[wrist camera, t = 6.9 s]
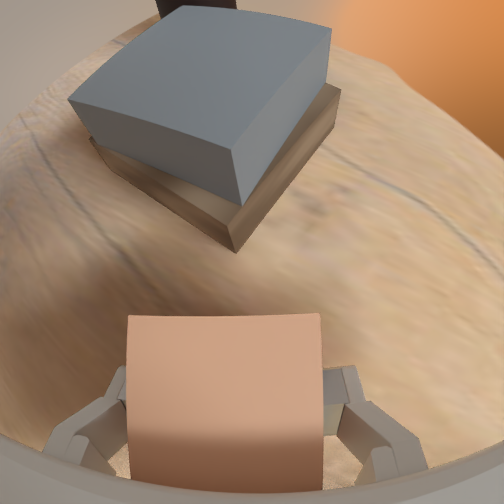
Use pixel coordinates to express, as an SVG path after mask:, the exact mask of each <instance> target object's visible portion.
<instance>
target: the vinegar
mask: <svg viewBox="0 0 504 504" xmlns="http://www.w3.org/2000/svg"><path fill="white" fill-rule="evenodd" d="M155 1H156V4H157V7H158V11H159V14H160V17H161V19H163V18H164V17H166V16H167V15H169V14H170V13H172V12H173V11H175V10H176V9H178V8H179V7H181V6H183V5H184V6H205V7H218V8H228V9H237V7H236V0H155Z"/></svg>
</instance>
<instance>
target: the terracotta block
mask: <svg viewBox="0 0 504 504" xmlns="http://www.w3.org/2000/svg"><path fill="white" fill-rule="evenodd" d="M126 409H127V434H128V450H129V463H130V474H131V480H136V481H141V482H146V483H151V484H157V485H163V486H169V487H176V488H183V489H192V490H201V491H213V492H228V493H292V492H307V491H319V490H322V485H323V368H322V343H321V323H320V313H307V314H286V315H257V316H141V315H128V329H127V355H126Z"/></svg>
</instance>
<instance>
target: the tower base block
mask: <svg viewBox="0 0 504 504" xmlns="http://www.w3.org/2000/svg"><path fill="white" fill-rule="evenodd" d="M340 93H341V89H339V88H337V87H334V86H332V85H330V84H328V83H325V84H324V85H323V86H322V88H321V89H320V91H319V92H318V94H317V95H316V97H315V98H314V99H313V101H312V102H311V104H310V105H309V107H308V108H307V110H306V111H305V113H304V114H303V115H302V117H301V118H300V120H299V121H298V123H297V124H296V126H295V127H294V129H293V130H292V132H291V133H290V135H289V136H288V138H287V139H286V141H285V142H284V144H283V145H282V147H281V148H280V150H279V151H278V153H277V154H276V156H275V157H274V159H273V160H272V162H271V163H270V165H269V166H268V168H267V169H266V171H265V172H264V174H263V175H262V177H261V178H260V180H259V181H258V183H257V185H256V186H255V188H254V189H253V191H252V192H251V194H250V195H249V197H248V198H247V200H246V202H245V203H244V205H243V206H240V205H238V204H236V203H233V202H231V201H229V200H227V199H225V198H222V197H220V196H218V195H216V194H214V193H211V192H209V191H207V190H205V189H202V188H200V187H198V186H196V185H193V184H191V183H189V182H186V181H184V180H182V179H180V178H177V177H175V176H173V175H170V174H168V173H166V172H163V171H161V170H159V169H156V168H154V167H152V166H149V165H147V164H145V163H142V162H140V161H137V160H135V159H133V158H130V157H128V156H125V155H123V154H121V153H118V152H116V151H113V150H111V149H108V148H106V147H103V146H101V145H98V144H97V143H96V141H95V140H94V138H93V137H92V136H91V137H90V138H89V140H90V142H91V143H92V145H93V146H94V147H95V149H96V150H97V151H98V153H99V154H100V156H101V157H102V158H103V160H104V161H105V162H106V164H107V165H108V166H109V168H110V169H111V170H112V171H113V172H115V173H116V174H118V175H119V176H121V177H122V178H124V179H125V180H127V181H128V182H129V183H131V184H132V185H134V186H135V187H137V188H138V189H140V190H141V191H143V192H144V193H146V194H147V195H149V196H150V197H152V198H153V199H155V200H156V201H158V202H159V203H161V204H162V205H164V206H165V207H167V208H168V209H170V210H171V211H173V212H174V213H176V214H177V215H179V216H180V217H182V218H183V219H185V220H186V221H187V222H189V223H190V224H192V225H193V226H195V227H196V228H198V229H199V230H201V231H202V232H204V233H206V234H207V235H209V236H210V237H212V238H213V239H215V240H216V241H218V242H219V243H221V244H222V245H224V246H225V247H227V248H228V249H230V250H231V251H233V252H234V253H236V254H237V252H238V251H239V250H240V248H241V247H242V246H243V245H244V243H245V242H246V241H247V239H248V238H249V237H250V235H251V234H252V233H253V231H254V230H255V229H256V227H257V226H258V225H259V224H260V222H261V221H262V220H263V218H264V217H265V216H266V214H267V213H268V212H269V211H270V209H271V208H272V207H273V205H274V204H275V203H276V201H277V200H278V199H279V198H280V196H281V195H282V194H283V192H284V191H285V190H286V188H287V187H288V186H289V185H290V183H291V182H292V181H293V179H294V178H295V177H296V176H297V174H298V173H299V172H300V170H301V169H302V168H303V166H304V165H305V164H306V163H307V161H308V160H309V159H310V157H311V156H312V155H313V154H314V152H315V151H316V150H317V148H318V147H319V146H320V145H321V143H322V142H323V141H324V139H325V138H326V137H327V136H328V134H329V133H330V132H331V131H332V129H333V128H334V124H335V119H336V114H337V109H338V104H339V99H340Z"/></svg>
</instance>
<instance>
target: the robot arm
mask: <svg viewBox="0 0 504 504" xmlns="http://www.w3.org/2000/svg"><path fill="white" fill-rule="evenodd" d="M330 435H337V437H338V438H339V439H340V440H341V441H342V443H343V444H344V445H345V446H346V447H347V448H348V449H349V450H350V451H351V453H352V454H353V455H354V456H355V457H356V458H357V459H358V460H359V461H360V462H361V463H362V464H363V468H362V470H361V472H360V473H359V475H358V477H357V479H356V481H355V482H354V483H355V486H351V487H344V488H336V489H328V490H319V491H307V492H292V493H228V492H213V491H201V490H192V489H183V488H176V487H169V486H163V485H157V484H151V483H146V482H141V481H136V480H131V479H127V478H122V477H118V476H116V471H115V470H114V468H113V467H112V466H111V465H110V464H109V463H108V462H107V461H108V460H109V459H110V458H111V457H112V456H113V455H114V454H115V453H116V452H117V451H119V450H120V449H121V448H122V447H123V446H124V445H125V444H126V443H127V442H128V434H127V409H126V366H123V365H121V366H120V367H118V369H117V371H116V373H115V375H114V377H113V379H112V381H111V383H110V385H109V387H108V389H107V391H106V393H105V395H104V397H99V398H98V399H96V400H95V401H93V402H92V403H90V404H89V405H87V406H86V407H84V408H83V409H81V410H80V411H78V412H77V413H75V414H74V415H72V416H70V417H69V418H67V419H66V420H64V421H63V422H61V423H60V424H58V425H57V426H55V427H54V429H53V431H52V433H51V435H50V437H49V439H48V441H47V443H46V445H45V447H44V449H43V451H42V452H40V451H38V450H35V449H33V448H31V447H28V446H26V445H24V444H21V443H19V442H17V441H15V440H13V439H11V438H9V437H6V436H4V435H2V434H0V504H504V440H503V441H501V442H499V443H497V444H494V445H492V446H490V447H488V448H485V449H483V450H481V451H478V452H476V453H473V454H471V455H468V456H466V457H463V458H460V459H457V460H455V461H452V462H449V463H446V464H443V465H440V466H437V467H434V468H430V469H428V466H427V463H426V460H425V457H424V453H423V450H422V447H421V444H420V441H419V438H418V437H416V436H415V435H414V434H412V433H411V432H410V431H409V430H407V429H406V428H405V427H403V426H402V425H401V424H399V423H398V422H397V421H396V420H394V419H393V418H392V417H390V416H389V415H388V414H387V413H385V412H384V411H383V410H381V409H380V408H379V407H378V406H376V405H375V404H374V403H373V402H371V401H366V399H365V395H364V392H363V388H362V385H361V382H360V378H359V375H358V371H357V368H356V367H355V365H352V366H343V367H332V368H323V436H330Z"/></svg>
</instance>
